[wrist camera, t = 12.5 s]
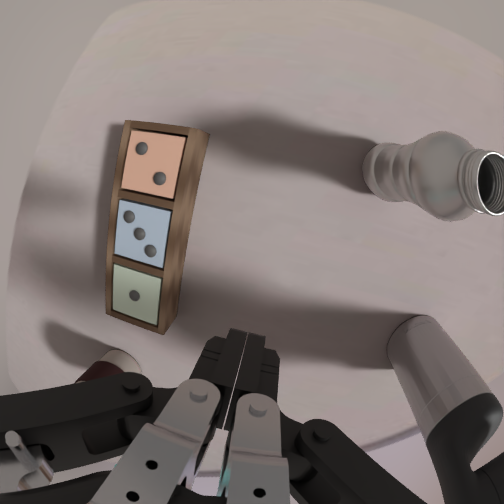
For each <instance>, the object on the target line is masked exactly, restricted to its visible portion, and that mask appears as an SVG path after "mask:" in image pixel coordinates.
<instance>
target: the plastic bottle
mask: <svg viewBox="0 0 504 504" xmlns="http://www.w3.org/2000/svg"><path fill="white" fill-rule="evenodd" d="M362 172H363V177H364V180H365V183H366V184H367V186H368V188H369V189H370V190H371V191H372V192H373V193H374V194H375V195H376V196H377V197H379V198H380V199H382V200H385V201H388V202H402V201H409V202H411V203H413V204H416V205H418V206H419V207H421V208H422V209H424V210H425V211H426V212H428V213H429V214H431V215H432V216H434V217H436V218H438V219H441V220H443V221H450V222H452V221H458V220H463V219H466V218H468V217H469V216H471V215H472V214H473V213H475V212H478V213H482V214H485V213H486V214H489V215H492V216H500V215H502V214H504V157H503V155H501V154H500V153H498V152H495V151H485V150H483V149H475V148H474V147H473V146H472V145H471V144H470V143H469V142H468V141H467V140H466V139H464V138H462V137H460V136H458V135H456V134H453V133H450V132H446V131H439V132H435V133H432V134H429V135H427V136H425V137H423V138H421V139H420V140H418V141H416V142H414V143H411V144H408V145H400V144H395V143H381V144H378V145H377V146H375V147H373V148H372V149H371V150H370V151H369V152H368V154H367V155H366V157H365V159H364V161H363V166H362Z"/></svg>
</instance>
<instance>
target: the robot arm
mask: <svg viewBox="0 0 504 504" xmlns="http://www.w3.org/2000/svg"><path fill="white" fill-rule="evenodd" d="M246 336H247V332H245V331H241V330H237V329H233V328H230V330H229V333H228V336H227V338H226V339H225V338H221V337H217V336H215V337H213V338H212V339H210V340H208V341H207V343H206V345H205V347H204V349H203V351H202V353H201V356H200V357H199V359H198V361H197V363H196V365H195V368H194V370H193V372H192V374H191V376H190V378H189V380H186V381H184V382H182V383H181V384H180V385H179V386H178V387H177V388H156V387H152V383H151V382H150V380H149V379H148V378H147V377H145V376H144V375H142V374H139V373H135V372H123V373H119V374H115V375H111V376H107V377H102V378H98V379H94V380H89V381H85V382H80V383H75V384H70V385H65V386H60V387H55V388H49V389H44V390H38V391H32V392H25V393H19V394H11V395H3V396H0V504H290V494H291V495H292V496H293V498H294V499H295V500H296V501H297V502H298V503H299V504H427V503H426V502H424V501H423V500H422V499H420V498H419V497H418V496H416V495H415V494H414V493H413V492H411V491H410V490H409V489H407V488H406V487H405V486H404V485H403V484H401V483H400V482H399V481H398V480H397V479H395V478H394V477H393V476H392V475H391V474H389V473H388V472H387V471H386V470H385V469H383V468H382V467H381V466H380V465H379V464H378V463H376V462H375V461H374V460H373V459H372V458H371V457H370V456H368V455H367V454H366V453H365V452H364V451H363V450H362V449H361V448H359V447H358V446H357V445H356V444H355V443H354V442H353V441H352V440H351V439H350V438H348V437H347V436H346V435H345V434H344V433H343V432H342V431H341V430H340V429H339V428H338V427H337V426H335V425H334V424H333V423H331V422H329V421H326V420H322V419H313V420H309V421H307V422H305V423H304V424H302V423H299V422H297V421H294V420H292V419H290V418H288V417H287V416H285V415H284V414H283V413H282V412H281V411H280V409H279V406H278V404H277V393H278V379H279V376H278V375H279V364H280V358H279V356H278V354H277V353H276V351H275V350H271V349H266V348H264V345H265V338H266V336H262V335H258V334H253V333H249V334H248V338H247V342H246V346H245V349H244V353H243V357H242V361H241V365H240V369H239V372H238V368H239V364H240V360H241V356H242V352H243V348H244V344H245V340H246ZM387 355H388V358H389V360H390V362H391V364H392V366H393V368H394V371H395V373H396V375H397V377H398V380H399V382H400V384H401V386H402V388H403V391H404V393H405V395H406V398H407V400H408V402H409V404H410V407H411V409H412V412H413V414H414V416H415V419H416V421H417V424H418V426H419V428H420V431H421V433H422V436H423V438H424V441H425V443H426V446H427V449H428V451H429V454H430V456H431V459H432V462H433V464H434V467H435V470H436V473H437V476H438V479H439V482H440V486H441V489H442V494H443V498H444V502H445V504H504V452H503V453H501V454H500V455H499V456H497V457H496V458H494V459H493V460H491V461H490V462H488V463H487V464H485V465H484V466H482V467H481V468H479V469H477V470H476V471H474V472H473V471H472V470H471V467H470V463H471V461H472V460H473V458H474V457H475V455H476V454H477V453H478V451H479V450H480V449H481V448H482V447H483V446H484V445H485V444H486V443H487V441H488V440H489V439H490V438H491V436H492V435H493V434H494V433H495V431H496V430H497V428H498V426H499V425H500V423H501V420H502V417H503V409H502V407H501V404H500V403H499V401H498V400H497V398H496V397H495V395H494V394H493V393H492V392H491V390H490V389H489V387H488V386H487V384H486V383H485V382H484V380H483V379H482V378H481V376H480V375H479V374H478V372H477V371H476V370H475V368H474V367H473V366H472V364H471V363H470V362H469V360H468V359H467V358H466V356H465V355H464V354H463V353H462V351H461V350H460V349H459V348H458V346H457V345H456V344H455V343H454V341H453V340H452V339H451V338H450V336H449V335H448V334H447V333H446V332H445V330H444V329H443V328H442V327H441V326H440V324H439V323H438V322H437V321H436V320H435V319H434V318H432V317H430V316H425V315H423V316H417V317H414V318H411V319H409V320H407V321H406V322H404V323H403V324H402V325H400V326H399V327H398V328H397V329H396V331H395V332H394V333H393V334H392V336H391V338H390V340H389V343H388V346H387ZM237 372H238V376H237ZM236 376H237V380H236V384H235V387H234V383H235V379H236ZM233 387H234V391H233ZM232 391H233V395H232V399H231V403H230V407H229V411H228V415H227V419H226V423H225V426H224V430H227V431H229V433H228V437H227V441H226V444H225V448H224V454H223V461H222V467H221V474H220V481H219V487H218V492H217V496H203V495H199V494H197V493H195V492H193V491H191V489H192V486H193V483H194V480H195V478H196V475H197V473H198V471H199V469H200V466H201V464H202V462H203V459H204V457H205V455H206V452H207V450H208V448H209V445H210V442H211V440H212V439H213V437H214V434H215V430H216V428H219V429H222V427H223V423H224V420H225V416H226V412H227V409H228V405H229V402H230V398H231V394H232ZM120 455H123V456H122V457H121V459H120V460H119V461H118V463H117V464H116V466H115V467H114V468H113V470H110V471H101V472H96V473H92V474H89V475H86V476H82V477H79V478H75V479H72V480H68V481H64V482H60V483H56V484H52V485H49V484H50V482H51V481H52V479H53V475H54V472H59V471H64V470H69V469H73V468H77V467H81V466H85V465H89V464H93V463H96V462H100V461H103V460H107V459H110V458H113V457H116V456H120Z"/></svg>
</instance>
